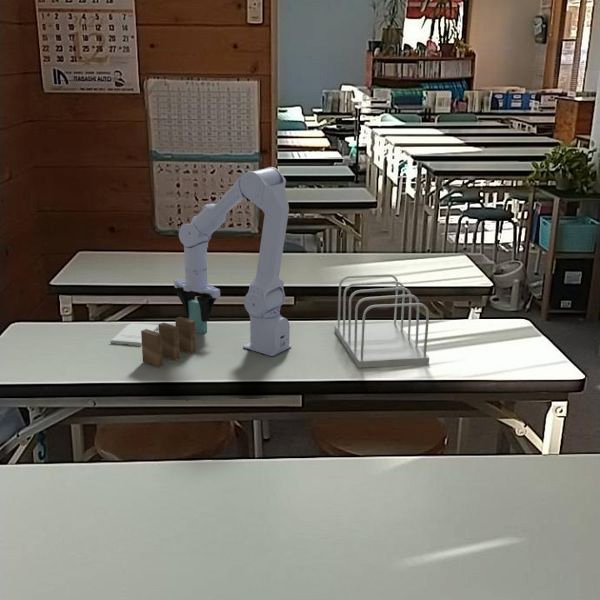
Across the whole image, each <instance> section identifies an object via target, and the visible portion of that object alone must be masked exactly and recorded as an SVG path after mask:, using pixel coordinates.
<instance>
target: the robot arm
mask: <svg viewBox="0 0 600 600" xmlns="http://www.w3.org/2000/svg"><path fill="white" fill-rule="evenodd" d="M286 183H287V180H286V177H284V175H283V174H282V173H281V171H280V170H279V169H278V168H276V167H273V166H268V167H265V168H262V169H257V170H253V171H252V170H249V171H246V172H245V173H243V174H242V175H241V177H239V178H237V179H236V180H235V183H233V185H232V186H231V187H230V188H229V190H227V191H226V192H225V193H224V195H222V197H221V198H220V199H219V200H218V201H217V202H216V203H207V204H204V205H203V206H202V207H201V209H202V211H200V212H199V213H198V214H197V215H195V216H193V217H192V218H191V221H190V223H184V224H181V226H180V228H179V229H178V239H179V240H180V243H181V244H182V245H183V251H184V252H183V254H184V256H183V257H184V275H185V277H184V279H181V278H177V279H175V280H173V282H174V284H173V286H174V288H175V289H178V288H180V289H179V290H177V291H176V296H177V297H178V298H179V301H180V302H181V304H182V307H183V308H184V309H183V310H184V312H185V315H186V317H187V318H189V312H188V301H189V300H191V299H194V300H197V301H198V302H199V306H200V311H201V320H202V321H203V322H205V321H207V322H208V321H209V320H210V317H211V313H212V309H213V307H214V305H215V302H216V300H217V299H218V298H219V297H220V298H221V289H220V288H217V287H215V286H213V285H211V284H210V283H209V281H208V279H209V278H208V276H209V275H208V248H209V241H210V240H211V239H212V234H214V232H215V231H217V229H219V228H220V227H221V226H222V225H223V224H225V222H226V221H227V220H226V219H227V216H226V215H227V214H228V213H229V212H230V211H231V210H232V209H233V208H235V207H236V206H237V205H238V204H240V202H242V201H243V200H244V199H246V198H247V200H249V201H250V202H252V203H253V204H254V205H255V206H257V208H259V209H260V210H261V211H262V213H264V216H263V217H264V218H263V223H262V225H263V226H262V233H261V239H260V245H259V253H258V260H257V261H258V262H257V268H256V275H255V277H254V278H253V280H252V281H251V283H250V284H249V288H248V292H247V293H246V294H245V296H244V299H243V304H244V309H245V311H246V312H247V313H248V316H249V319H250V320H249V322H250V324H249V327H250V329H249V332H250V333H249V334H250V336H249V337H250V339H249V341H250V342H248V343H246V344H243V346H242V347H243V348H244V349H247V350H250V351H253V352H257V353H259V354H260V353H261V354H263V355H267V356H270V357H273V356H276V355H278V354H280V353H282V352H284V351H286V350H288V349H290V348H292V345H291V344H290V333H291V332H290V330H291V329H290V328H291V326H290V322H289V320H288V319H287V318H286V317H283V316H282V315H281V314H280V311H281V306H282V305H283V304H284V302H285V300H286V295H285V294H286V293H285V290H284V287H285V286H284V284H285V281H283V280H282V279H281V277H280V274H281V273H280V272H281V265H282V259H283V253H284V245H285V241H286V240H285V238H286V232H287V226H288V219H289V212H290V206H289V202H288V196H287V192H286ZM197 293H198V294H202V295H200V296H197V297H196V295H197Z"/></svg>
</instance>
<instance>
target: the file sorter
mask: <svg viewBox="0 0 600 600" xmlns="http://www.w3.org/2000/svg"><path fill="white" fill-rule="evenodd" d="M385 277H386V278H388V277H389V278H393V279H394V280H391V281H390V280H389V281H388V280H387V281H373V282H356V283H349V284H348V285H347V286H346V287H345V288H344V290H343V294H342V284H343V282H345V280H348V279H362V278H363V279H364V278H385ZM389 284H390V285H393V284H394V285H395V287H384V288H381V287H380V288H369V289H359V290H358V289H357V290H355V291H354V292H352V293H351V294H350V296H349V298H348V324H346V300H347V299H346V297H347V292H348V290H349V289H350V288H351V287H357V286H358V287H360V286H376V285H389ZM399 286H400V287H399ZM389 291H391V292H393V291H395V294H394V295H393V294H392V295H381V296H380V295H379V296H368V297H363V298H361V299H359V300H358V301H357V303H356V304H355V309H354V324H351V323H352V299H353V297H354V296H355V295H357V294H360V293H374V292H389ZM399 291H402V294H399ZM406 293H407V294H406ZM342 295H343V296H342ZM341 297H342V300H343V302H342V305H343V306H342V324H341V301H342V300H341ZM399 298H401V303H398V299H399ZM405 298H408V301H409V302H408V303H405ZM388 299H395V300H394V303H390V304H389V303H388V304H387V303H386V304H385V303H383V304H372V305H369V306H368V307H366V309H364V311H363V314H362V320H361V323H358V310H359V309H358V308H359V306H360V304H362V303H363V302H366V301H371V300H374V301H375V300H388ZM413 299H414V300H415V301H416V302H415V303H414V302H413V301H412V300H413ZM337 301H338V302H337V303H338V304H337V324H335V325H334V333H335V334H336V335H337V337H338V339H339V340H340V341H341V343H342V344H343V347H345V349H346V351H347V352H348V353H349V355H350V357H351V358H352V359H353V361H354V363H355V364H356V366H357V367H358V368H377V367H398V366H415V365H429V364H430V357H429V356H428V354H427V348H428V347H427V346H428V334H429V333H428V332H429V322H430V321H429V319H430V310H429V308H428V307H427V306H426V304H424V303H421V302H420V299H418V297H417V296H416V295H414V294H412V293H411V291H410V289H408V288H406V287H405V286H404V284H403V283H402V282H400V281H398V278H397V277H396V276H395V275H393V274H388V273H387V274H385V273H384V274H383V273H382V274H359V275H357V274H356V275H346V276H344V277H343V278H342V279H340V281H339V285H338V299H337ZM399 307H401V317H400V318H401V319H400V323H398V322H397V314H398V308H399ZM405 307H408V321H407V322H408V325H407V327H408V328H407V332H406V330H404V320H405V319H404V317H405V316H404V315H405ZM412 307H416V320H415V321H416V322H415V323H416V324H415V327H416V328H415V340H414V339H413V338H412V337H411V327H412V325H411V324H412ZM420 307H422V308H424V310H425V313H426V315H425V329H424V330H425V331H424V339H423V340H424V341H423V349H422V348H421V347H420V346H419V329H420V328H419V326H420V325H419V324H420V322H419V321H420ZM374 308H376V309H377V308H394V314H393V322H379V323H378V322H376V323H366V314H367V313H368V311H370V310H371V309H374Z"/></svg>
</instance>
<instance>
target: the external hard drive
mask: <svg viewBox="0 0 600 600" xmlns="http://www.w3.org/2000/svg"><path fill="white" fill-rule="evenodd" d="M145 329H148V330H151V331H154V332H155V331H156V332H158V330H159V324H151V323H150V324H149V323H148V324H147V323H137V322H135V323H134V322H131V323H129V324H128V325H126V326H125V327H124V328H123V329H122V330H121V331H120V332H119V333H117V334H116V335H115V336H113V337H112V339H111V340H110V343H116V344H115V345H122V344H123V345H126V344H128V345H127V346H134V345H137V347H142V337H141V331H142V330H145ZM157 329H158V330H157Z"/></svg>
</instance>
